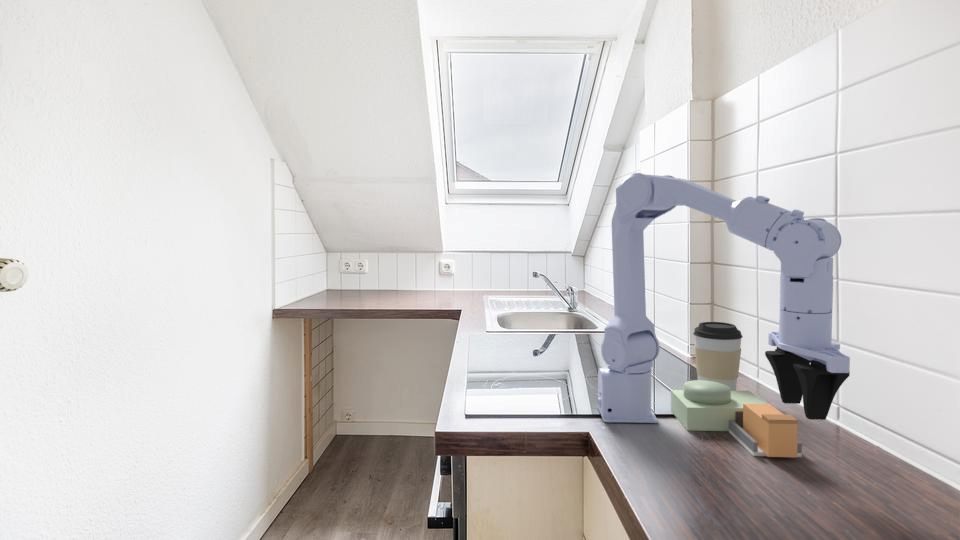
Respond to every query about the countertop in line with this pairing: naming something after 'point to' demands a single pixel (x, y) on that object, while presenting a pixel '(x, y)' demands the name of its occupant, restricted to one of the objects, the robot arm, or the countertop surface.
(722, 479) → the countertop surface
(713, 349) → the coffee cup
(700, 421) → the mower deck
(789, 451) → the orange stepped block
